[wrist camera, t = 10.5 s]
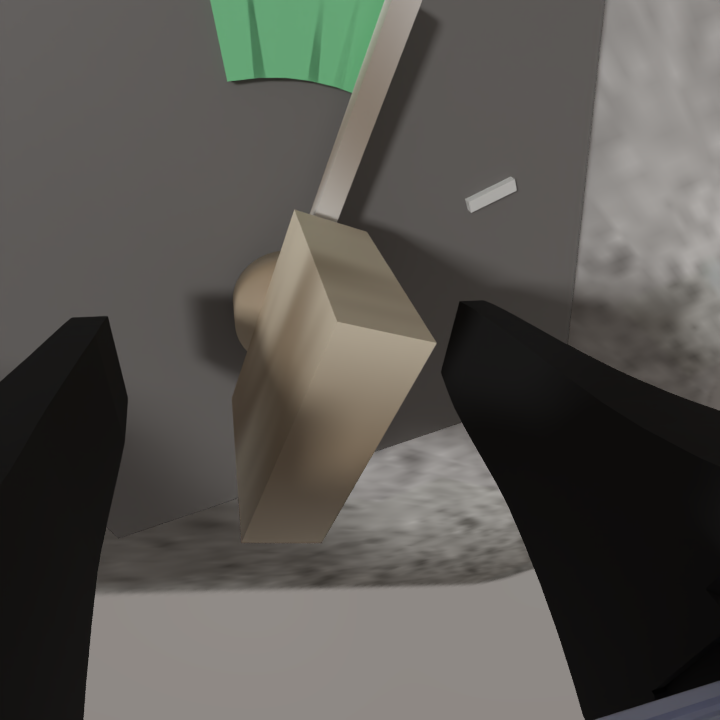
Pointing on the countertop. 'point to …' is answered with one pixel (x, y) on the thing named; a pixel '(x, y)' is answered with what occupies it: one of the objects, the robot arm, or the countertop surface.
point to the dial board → (275, 190)
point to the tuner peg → (323, 338)
